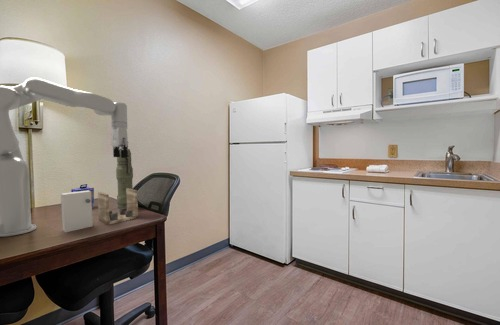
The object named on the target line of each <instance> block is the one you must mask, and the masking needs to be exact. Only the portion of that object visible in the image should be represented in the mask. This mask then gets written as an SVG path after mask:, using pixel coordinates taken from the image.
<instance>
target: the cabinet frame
mask: <svg viewBox="0 0 500 325" xmlns="http://www.w3.org/2000/svg"><path fill="white" fill-rule="evenodd" d="M126 196H127V208H121V209H119V214H118V212H114V213H113V210H110V196H109V194H108V193H105V192H102V191H98V192H97V202H98V205H97V207H98V221H99V222H100V223H101V224H102V223H103V224H104V225H106V226H108V225H113V224H117V223H122V222H127V221H130V219H131V220H134V218H135V219H138V218H139V205H138V204H139V203H138V202H139V201H138V198H139V197H138V190H137V189H134V188H133V189H129V188H127V189H126ZM126 220H127V221H126Z"/></svg>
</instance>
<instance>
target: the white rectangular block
mask: <svg viewBox="0 0 500 325" xmlns="http://www.w3.org/2000/svg"><path fill="white" fill-rule="evenodd" d="M60 202H61V220H62V222H61V223H62V224H61V225H62V231H63V232H64V233H70V232H74V231H78V230H82V229H83V230H84V229H87V228H90V227H91V228H93V226H94V225H93V208H92V202H91V191H89V190H87V191H79V192H65V193H64V192H63V193H60Z"/></svg>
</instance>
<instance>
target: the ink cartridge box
mask: <svg viewBox="0 0 500 325" xmlns="http://www.w3.org/2000/svg"><path fill="white" fill-rule="evenodd" d="M87 190H89V191H91V202H92V209H94V208H95V188H94V187H91V186H88V184H87V183H84V184H80V186H79V187H78V188H77V187H76V188H71V189H70V191H71V192H79V191H87Z"/></svg>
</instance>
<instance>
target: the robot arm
mask: <svg viewBox="0 0 500 325" xmlns="http://www.w3.org/2000/svg"><path fill="white" fill-rule="evenodd" d="M41 100H44V101H48V102H51V103H54V104H55V103H56V104H58V105H61V106H65V107H72V108H85V109H89V110H93V113H95V114H96V115H98V116H111V120H110V121H111V129H112V130H111V146H112V150H113V151H112V152H113V153H112V154H113V158H117V157H120V150H119V149H122V150H121V158H127V157H128V149H129V140H128V138H129V137H128V130H127V129H128V105H127V104H126V103H124V102H120V101H118V102H117V101H113V100H112V99H110V98H107V97H104V96H102V95H98V94H96V93H92V92H89V91H83V90H80V89H79V90H78V89H76V88H75V89H73V88H71V87H68V86H65V85H64V86H63V85H61V84H58V83H55V82H52V81H49V80H46V79H44V78H43V79H42V78H40V77H29V78H27V79H26V80H25V81H24V82H23V83H20V84H18V85H15V86H11V87H10V86H8V85H7V86H6V85H0V237H4V238H5V237H13V236H17V235H22V234H26V233H29V232H33V231H34V230H37V225H36V224H33V223H32V211H31V199H30V198H31V195H30V169H29V166H28V163H27V162H26V161H25V159H24V157H23V155H22V152H21V149H20V147H19V145H20V142H19V140H18V138H17V135H16V133H15V131H14V129H13V125H12V120H11V118H10V111H12V110H15V109H18V108H22V107H24V106H28V105H30V104H33V103H35V102H38V101H41Z"/></svg>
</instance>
